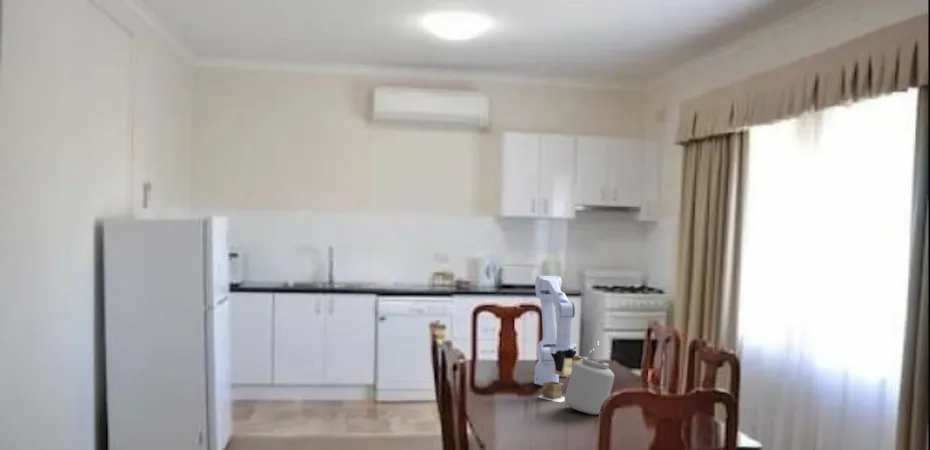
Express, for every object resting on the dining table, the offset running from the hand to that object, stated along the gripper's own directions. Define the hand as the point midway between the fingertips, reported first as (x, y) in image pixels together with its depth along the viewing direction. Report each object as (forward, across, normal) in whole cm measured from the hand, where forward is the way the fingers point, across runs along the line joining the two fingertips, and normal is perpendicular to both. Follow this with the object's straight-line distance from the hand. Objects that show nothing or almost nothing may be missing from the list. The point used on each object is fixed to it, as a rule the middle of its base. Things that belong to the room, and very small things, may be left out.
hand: (562, 370), depth 282 cm
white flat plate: (+10, -6, -1) cm, 11 cm away
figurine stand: (+10, +32, +22) cm, 40 cm away
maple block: (+2, 0, 0) cm, 2 cm away
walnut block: (+9, -6, 0) cm, 11 cm away
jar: (+10, -10, -20) cm, 25 cm away
